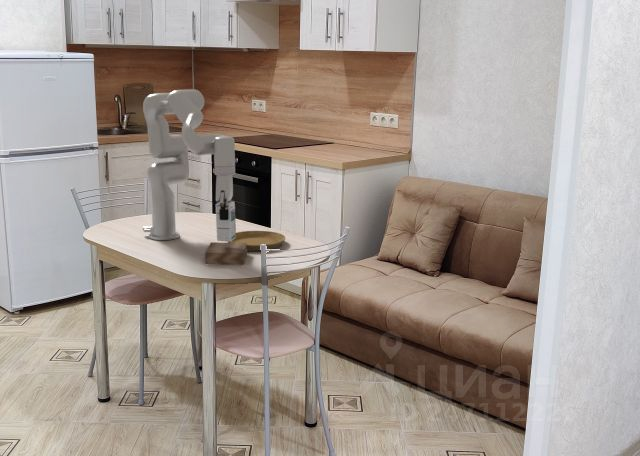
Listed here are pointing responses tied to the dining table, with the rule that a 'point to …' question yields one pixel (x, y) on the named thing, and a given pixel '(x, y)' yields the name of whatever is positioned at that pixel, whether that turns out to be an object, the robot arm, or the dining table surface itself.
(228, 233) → the syrup box
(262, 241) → the plant saucer
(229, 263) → the walnut block
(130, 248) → the dining table surface
